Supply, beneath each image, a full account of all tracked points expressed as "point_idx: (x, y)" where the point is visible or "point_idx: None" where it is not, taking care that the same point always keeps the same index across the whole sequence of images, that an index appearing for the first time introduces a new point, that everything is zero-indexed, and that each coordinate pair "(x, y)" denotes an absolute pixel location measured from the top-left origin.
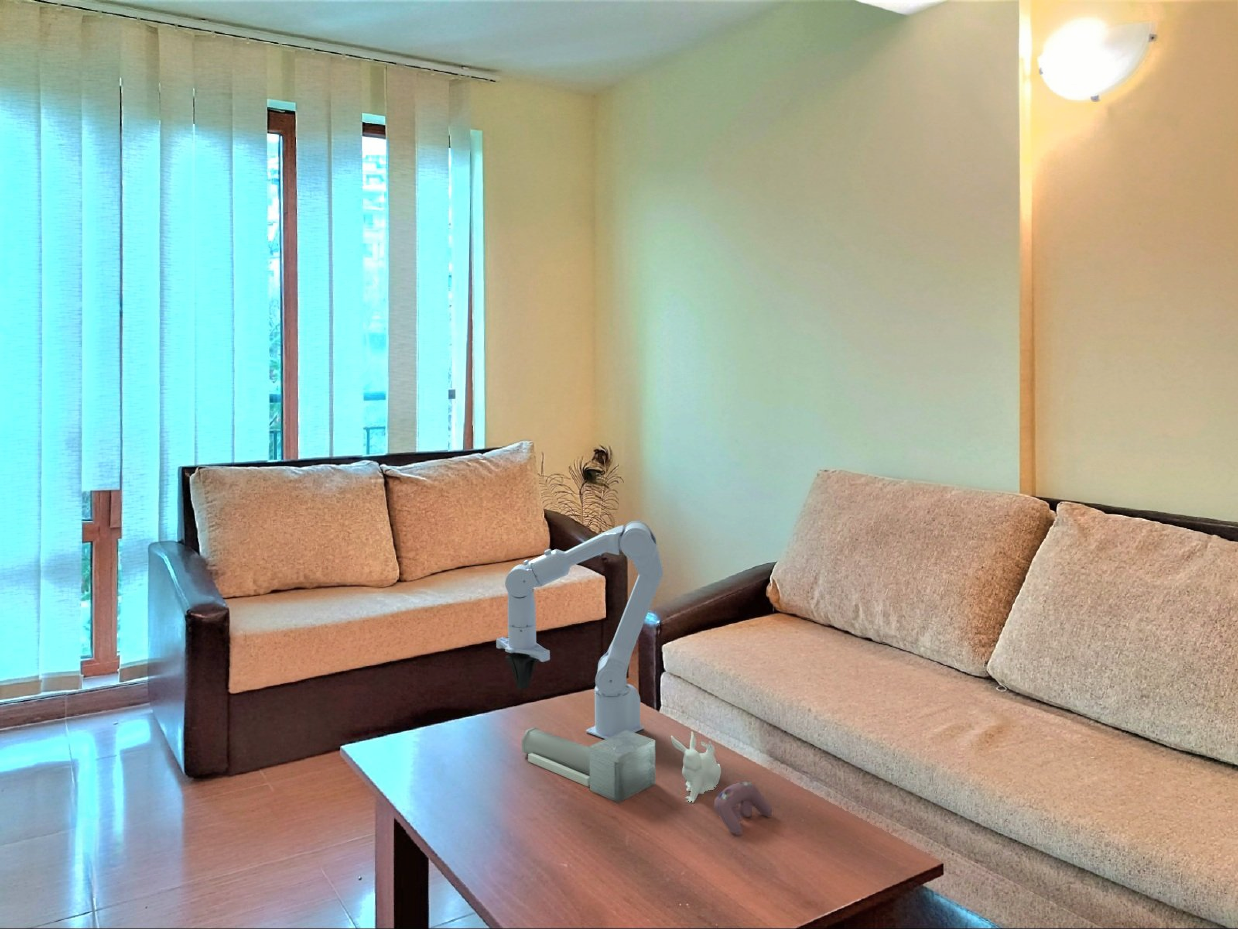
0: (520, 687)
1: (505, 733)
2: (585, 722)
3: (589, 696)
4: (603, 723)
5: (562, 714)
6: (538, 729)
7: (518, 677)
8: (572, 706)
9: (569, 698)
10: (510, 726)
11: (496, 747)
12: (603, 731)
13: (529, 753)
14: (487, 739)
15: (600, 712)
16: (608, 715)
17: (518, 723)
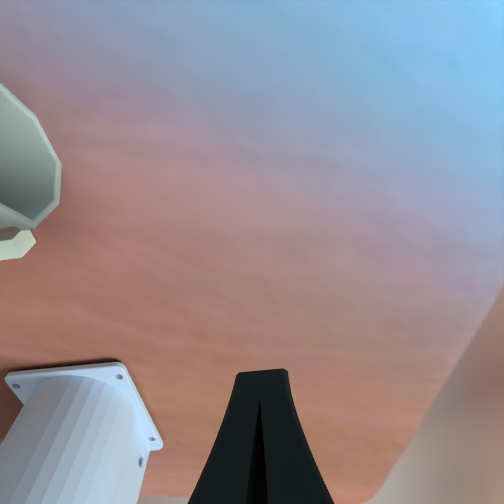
0: (242, 383)
1: (305, 160)
2: (200, 392)
3: (355, 471)
4: (30, 413)
5: (303, 382)
6: (1, 219)
7: (241, 462)
8: (333, 423)
9: (389, 442)
10: (354, 216)
11: (182, 26)
12: (45, 388)
13: (12, 116)
14: (306, 45)
15: (22, 448)
16: (1, 449)
17: (354, 254)
